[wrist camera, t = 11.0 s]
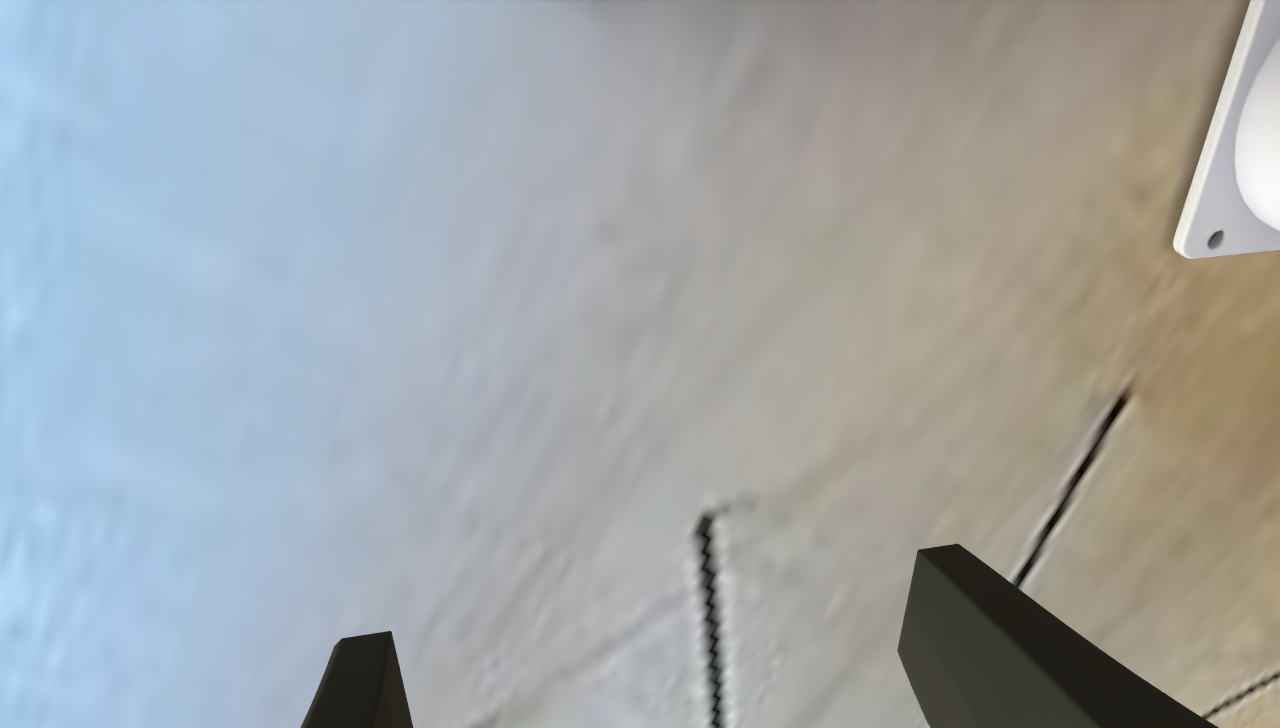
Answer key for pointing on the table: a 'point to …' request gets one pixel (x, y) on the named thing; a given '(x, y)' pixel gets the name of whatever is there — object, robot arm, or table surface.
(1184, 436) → the table surface
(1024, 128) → the table surface
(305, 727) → the robot arm
